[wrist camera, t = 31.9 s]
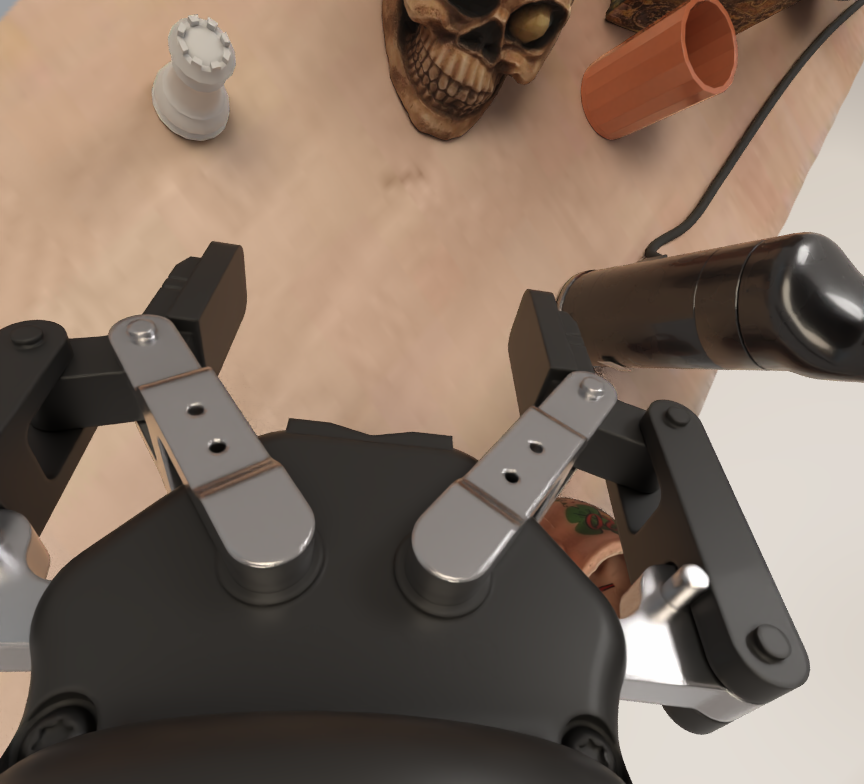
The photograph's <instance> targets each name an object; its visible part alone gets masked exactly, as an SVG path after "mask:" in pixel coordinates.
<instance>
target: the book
mask: <svg viewBox="0 0 864 784" xmlns="http://www.w3.org/2000/svg"><path fill="white" fill-rule="evenodd" d="M686 1H687V0H612V1H611V6H610V8H609V10H608V11H607V12H606V20H607V21H610V22H612V23H614V24H617V25H619V26H621V27H624V28H626V29H629V30H631V31H634V32H637V33H638V32H639V31H641V30H643V29H644V28H646V27H647V26H649V25H650V24H652V23H653V22H655V21H656V20H658V19H660V18H661V17H663V16H664V15H666V14H667V13H669V12H670V11H672V10H673V9H675V8H677V7H678V6H680V5H681V4H683V3H684V2H686ZM719 1H720V3H721V4H722V5H723V7H724V8H725V9H726V11H727V12H728V14H729V17H730V19H731V21H732V24H733V26H734V30H735V34H736V35H737V34H738V33H740V32H742V31H744V30H746V29H748V28H750V27H752V26H753V25H755V24H757V23H759V22H761V21H763V20H765V19H767V18H768V17H770V16H772V15H774V14H776V13H778V12H780V11H782V10H783V9H785V8H787V7H789V6H791V5H793V4H795V3H796V2H798V1H800V0H719Z"/></svg>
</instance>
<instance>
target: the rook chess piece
mask: <svg viewBox="0 0 864 784" xmlns="http://www.w3.org/2000/svg"><path fill="white" fill-rule="evenodd" d="M217 26H218V23H217V22H216V21H214V20H212V19H211V18H209V17H208V20H204V19H200V18H198V14H196V15H190V16H188V18H184V19H180V20H179V21H178V22H177V23H175V24H174V25H173V26H172V28H171V30H170V33H169V36H168V44H169V51H170V54H171V58H172V61H170V62H169V63H167V64H166V65H165V66H164V67H162V68H161V69H160V70H159V71H158V73H157V75H156V78H155V81H154V83H153V87H152V100H153V106H154V108H155V110H156V112H157V114H158V116H159V118H160V120H161V121H162V122H163V123H164V124H165V125H166V126H167V127H168V128H169V129H170V130H171V131H173V132H175V133H176V134H178V135H180V136H182V137H184V138H186V139H191V140H199V141H204V140H207V139H211V138H215V137H216V136H217V135H218V134H220V133H221V132H222V131H223V130H224V129H225V126H226V124H227V121H228V118H229V112H230V107H229V96H228V94H227V91H226V89H225V87H224V83H225V81H226V80H227V79H228V78H229V77H230V76H232V74H233V71H234V68H235V66H236V60H235V51H234V49H233V47H232V44H231V42H230V40H229V38H228V36H227V33H226V32H225V33H223V31H222V30H221V29H220V28H219V27H217Z"/></svg>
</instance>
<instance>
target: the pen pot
mask: <svg viewBox="0 0 864 784" xmlns="http://www.w3.org/2000/svg"><path fill="white" fill-rule="evenodd" d="M737 60H738V46H737V40H736V34H735V30H734V26H733V24H732V21H731V19H730V17H729V14H728V12H727V11H726V9H725V8H724V7H723V5H722V4H721V3H720V1H719V0H687V1H686V2H684V3H683V4H681V5H680V6H678V7H677V8H675V9H673V10H672V11H670V12H669V13H667V14H666V15H664V16H663V17H661V18H660V19H658V20H656V21H655V22H653V23H652V24H650V25H649V26H647V27H646V28H644V29H643V30H641V31H639V32H638V33H636V34H635V35H633V36H632V37H630V38H629V39H627V40H625V41H624V42H622V43H621V44H619V45H618V46H616V47H615V48H613V49H612V50H610V51H608V52H607V53H605V54H604V55H602V56H601V57H599V58H598V59H597V60H596V61H594V62H593V63H592V64H590V66H589V67H588V68H587V70H586V71H585V74H584V76H583V80H582V85H581V99H582V105H583V109H584V112H585V115H586V117H587V119H588V121H589V123H590V125H591V126H592V127H593V129H594V130H595V131H596V132H597V133H598V134H599V135H601V136H602V137H604V138H607V139H611V140H615V139H619V138H622V137H624V136H627V135H629V134H632V133H634V132H636V131H638V130H640V129H643V128H645V127H647V126H649V125H652V124H654V123H656V122H658V121H661V120H663V119H665V118H667V117H669V116H672V115H674V114H676V113H678V112H681V111H683V110H685V109H687V108H689V107H692V106H694V105H696V104H698V103H701V102H703V101H705V100H707V99H709V98H712V97H714V96H716V95H718V94H721V93H723V92H725V91H726V89H727V88H728V87H729V86H730V84H731V83H732V81H733V79H734V76H735V72H736V69H737Z"/></svg>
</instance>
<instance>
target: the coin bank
mask: <svg viewBox="0 0 864 784" xmlns="http://www.w3.org/2000/svg"><path fill="white" fill-rule="evenodd" d="M572 3H573V0H383V2H382V18H383V28H384V34H385V43H386V53H387V55H388V58H389V64H390V78H391V80H392V82H393V85H394V87H395V89H396V91H397V94H398V95H399V97H400V99H401V100H402V102H403V105H404V107H405V108H406V110H407V111H408V113H409V116H410V119H411V121H412V122H413V124H414V126H415V127H416V128H417V129H418V130H419V131H421V132H424V133H428V134H431V135H433V136H435V137H437V138H440V139H443V140H448V139H451V138H454V137H460V136H461V135H463V134H464V133H466V132H467V131H468V130H469V129H470V128H471V127H472V126H473V125H474V124H475V123H476V122H477V121H478V120H479V119H480V117H481V116H482V115H483V113H484V111H485V110H486V109H487V108H488V107H489V106H490V104H491V103H492V101H493V100H494V98H495V97H496V95H497V93H498V92H499V90H500V88H501V86H502V84H503V82H504V80H505V78H506V76H507V75H509V76H511V77H513V78H514V79H515V80H516V81H517V83H520V84H523V85H525V84H528V83H530V82H531V81H532V80H533V79H534V78H535V77H536V75H537V73H538V72H539V70H540V68H541V66H542V64H543V63H544V61H545V59H546V58H547V56H548V55H549V53H550V51H551V50H552V48H553V46H554V45H555V43H556V41H557V39H558V37H559V34H560V32H561V30H562V28H563V27H564V26H565V24H566V22H567V21H568V19H569V17H570V13H571V5H572Z"/></svg>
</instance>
